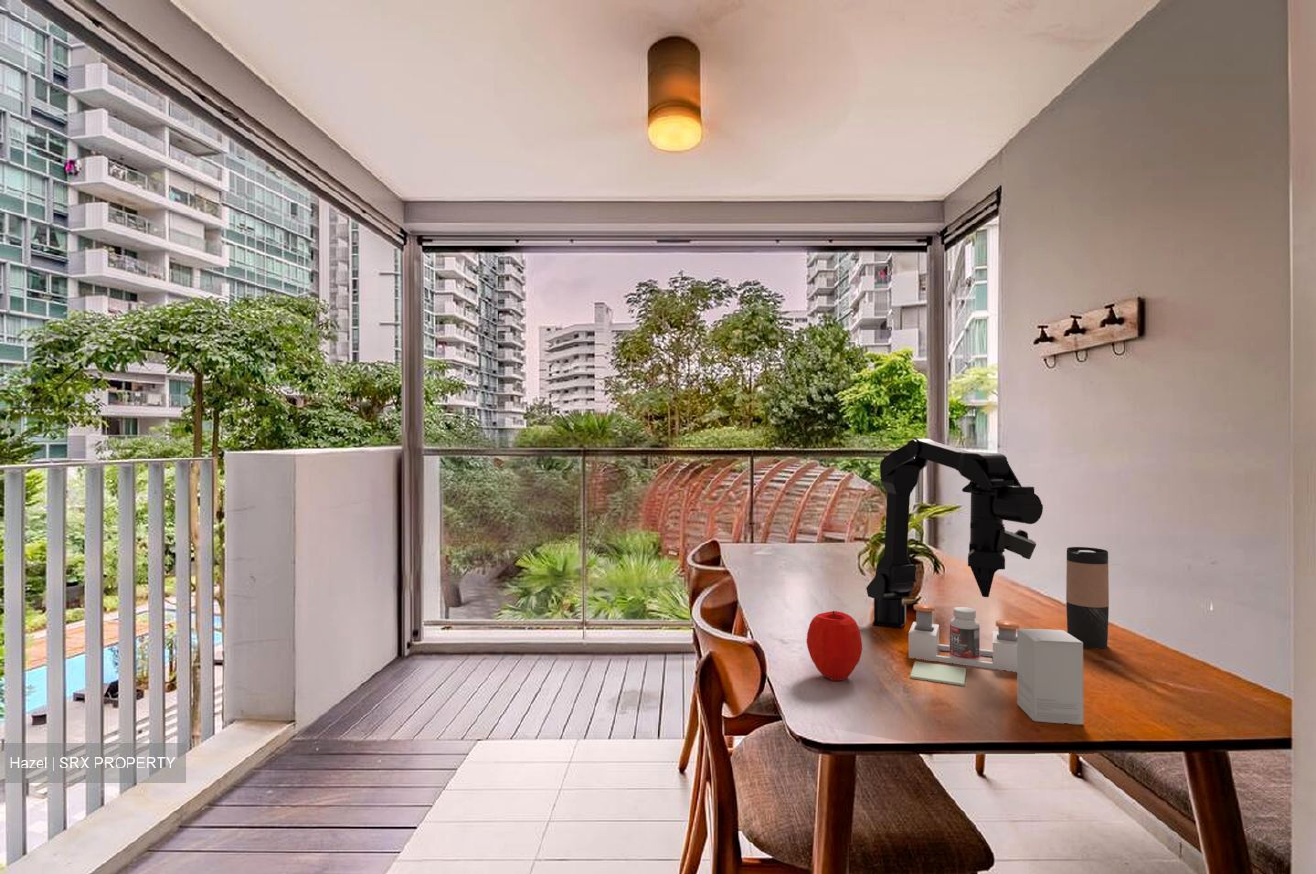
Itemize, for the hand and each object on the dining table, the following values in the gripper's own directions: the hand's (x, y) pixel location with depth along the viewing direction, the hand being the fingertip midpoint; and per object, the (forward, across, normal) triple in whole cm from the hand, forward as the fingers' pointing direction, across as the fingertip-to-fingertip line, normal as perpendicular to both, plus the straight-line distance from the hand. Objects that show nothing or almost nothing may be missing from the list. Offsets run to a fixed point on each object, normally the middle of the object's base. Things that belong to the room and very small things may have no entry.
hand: (985, 596), depth 134 cm
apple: (+13, -22, +25) cm, 36 cm away
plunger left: (+8, 0, +11) cm, 14 cm away
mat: (+12, -12, +8) cm, 19 cm away
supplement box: (+12, -24, -9) cm, 29 cm away
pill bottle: (+13, 0, +4) cm, 13 cm away
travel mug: (+13, +21, -20) cm, 32 cm away
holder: (+13, 0, +4) cm, 13 cm away
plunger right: (+10, 0, -4) cm, 10 cm away
